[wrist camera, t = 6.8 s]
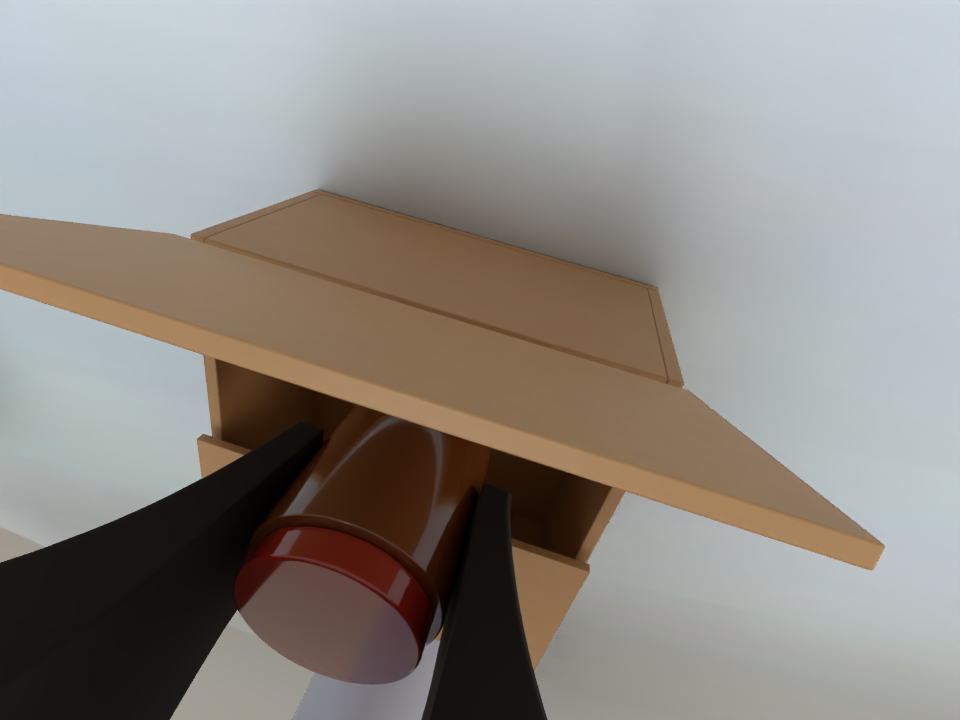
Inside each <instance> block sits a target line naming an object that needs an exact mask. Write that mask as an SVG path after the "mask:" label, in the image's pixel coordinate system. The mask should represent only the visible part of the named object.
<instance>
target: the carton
mask: <svg viewBox="0 0 960 720" xmlns="http://www.w3.org/2000/svg"><path fill="white" fill-rule="evenodd" d="M191 239H192V240H195V241H198V242H202V243H205V244H208V245H211V246H215V247H218V248H221V249H225V250H228V251H231V252H234V253H238V254H241V255H244V256H248V257H251V258H254V259H257V260H261V261H264V262H267V263H271V264H274V265H277V266H280V267H284V268H287V269H290V270H294V271H297V272H300V273H303V274H307V275H310V276H313V277H317V278H320V279H323V280H327V281H330V282H333V283H336V284H340V285H343V286H346V287H350V288H353V289H356V290H359V291H363V292H366V293H369V294H373V295H376V296H379V297H382V298H386V299H389V300H392V301H396V302H399V303H402V304H405V305H409V306H412V307H415V308H419V309H422V310H425V311H428V312H432V313H435V314H438V315H442V316H445V317H448V318H452V319H455V320H458V321H461V322H465V323H468V324H471V325H475V326H478V327H481V328H484V329H488V330H491V331H494V332H498V333H501V334H504V335H507V336H511V337H514V338H517V339H521V340H524V341H527V342H530V343H534V344H537V345H540V346H544V347H547V348H550V349H553V350H557V351H560V352H563V353H567V354H570V355H573V356H577V357H580V358H583V359H586V360H590V361H593V362H596V363H600V364H603V365H606V366H609V367H613V368H616V369H619V370H623V371H626V372H629V373H632V374H636V375H639V376H642V377H646V378H649V379H652V380H655V381H659V382H662V383H665V384H669V385H672V386H675V387H679V388H682V387H683V385H684V382H683V378H682V374H681V371H680V367H679V364H678V360H677V356H676V353H675V349H674V346H673V342H672V338H671V335H670V331H669V328H668V324H667V321H666V317H665V313H664V310H663V306H662V303H661V299H660V295H659V292H658V288H657V287H653V286H650V285H646V284H643V283H640V282H636V281H633V280H629V279H626V278H622V277H619V276H615V275H612V274H608V273H605V272H601V271H598V270H595V269H591V268H588V267H584V266H581V265H577V264H574V263H570V262H567V261H563V260H560V259H556V258H553V257H550V256H546V255H543V254H539V253H536V252H532V251H529V250H525V249H522V248H518V247H515V246H511V245H508V244H505V243H501V242H498V241H494V240H491V239H487V238H484V237H480V236H477V235H473V234H470V233H466V232H463V231H460V230H456V229H453V228H449V227H446V226H442V225H439V224H435V223H432V222H428V221H425V220H421V219H418V218H415V217H411V216H408V215H404V214H401V213H397V212H394V211H390V210H387V209H383V208H380V207H376V206H373V205H370V204H366V203H363V202H359V201H356V200H352V199H349V198H345V197H342V196H338V195H335V194H331V193H328V192H324V191H321V190H318V189H317V190H314V191H312V192H309V193H306V194H303V195H300V196H297V197H294V198H292V199H289V200H286V201H283V202H280V203H277V204H275V205H272V206H269V207H266V208H263V209H261V210H258V211H255V212H252V213H249V214H246V215H244V216H241V217H238V218H235V219H232V220H229V221H227V222H224V223H221V224H218V225H215V226H212V227H210V228H207V229H204V230H201V231H198V232H196V233H193V234H191ZM204 364H205V373H206V382H207V392H208V401H209V410H210V419H211V429H212V437H211V436H208V435H205V434H203V435H201V436H200V437H199V438H198V439H197V444H198V452H199V459H200V467H201V474H202V478H204V477H206V476H208V475H210V474H212V473H213V472H215V471H217V470H219V469H221V468H222V467H224V466H226V465H228V464H229V463H231V462H233V461H235V460H236V459H238V458H240V457H242V456H243V455H245V454H247V453H249V452H250V451H252V450H254V449H255V448H257V447H259V446H260V445H262V444H264V443H265V442H267V441H269V440H270V439H272V438H274V437H275V436H277V435H279V434H280V433H282V432H284V431H285V430H287V429H289V428H290V427H292V426H294V425H295V424H297V423H299V422H302V423H305V424H308V425H311V426H314V427H317V428H320V429H323V430H324V433H323V443H324V442H325V440H326V439H327V438H328V436H329V435H330V434H331V433H332V431H333V430H334V429H335V427H336V426H337V425H338V424H339V422H340V421H341V420H342V419H343V417H344V416H345V415H346V413H347V412H348V411H349V410H350V408H351V407H352V406H353V405H354V403H351V402H348V401H345V400H342V399H339V398H336V397H333V396H330V395H327V394H324V393H320V392H317V391H314V390H311V389H308V388H305V387H302V386H299V385H296V384H293V383H290V382H286V381H283V380H280V379H277V378H274V377H271V376H268V375H265V374H262V373H259V372H256V371H252V370H249V369H246V368H243V367H240V366H237V365H234V364H231V363H228V362H225V361H222V360H218V359H215V358H212V357H209V356H206V355H204ZM489 448H490V447H489ZM490 455H491V461H490V468H489V473H488V476H487V479H486V484H489V485H492V486H495V487H498V488H501V489H504V490H507V491H509V493H510V494H511V511H510V521H511V542H512V554H513V563H514V570H515V578H516V586H517V592H518V599H519V605H520V610H521V615H522V621H523V626H524V631H525V636H526V640H527V645H528V649H529V654H530V658H531V662H532V666H533V670H535V668H536V666H537V665H538V663H539V661H540V659H541V658H542V656H543V654H544V652H545V650H546V649H547V647H548V645H549V643H550V642H551V640H552V638H553V636H554V634H555V633H556V631H557V629H558V627H559V626H560V624H561V622H562V620H563V618H564V617H565V615H566V613H567V611H568V610H569V608H570V606H571V604H572V603H573V601H574V599H575V597H576V595H577V594H578V592H579V590H580V588H581V587H582V585H583V583H584V581H585V579H586V578H587V576H588V574H589V572H590V565H589V564H587V563H586V562H587V560H588V559H589V557H590V555H591V553H592V551H593V549H594V548H595V546H596V544H597V542H598V540H599V539H600V537H601V535H602V533H603V531H604V529H605V528H606V526H607V524H608V522H609V520H610V518H611V517H612V515H613V513H614V511H615V509H616V507H617V506H618V504H619V502H620V500H621V498H622V497H623V495H624V493H625V491H623V490H620V489H617V488H614V487H611V486H608V485H605V484H602V483H599V482H596V481H592V480H589V479H586V478H583V477H580V476H577V475H574V474H571V473H568V472H565V471H562V470H558V469H555V468H552V467H549V466H546V465H543V464H540V463H537V462H534V461H531V460H528V459H524V458H521V457H518V456H515V455H512V454H509V453H506V452H503V451H500V450H497V449H494V448H490ZM442 629H443V627H442ZM442 629H441V632H440V633H439V634H438V636H437V637H436V638H435V640H438V641H440V638H441V634H442Z"/></svg>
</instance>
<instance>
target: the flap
mask: <svg viewBox="0 0 960 720" xmlns="http://www.w3.org/2000/svg"><path fill="white" fill-rule="evenodd" d="M0 289H2V290H5V291H8V292H11V293H14V294H18V295H21V296H24V297H27V298H30V299H33V300H36V301H39V302H42V303H45V304H48V305H52V306H55V307H58V308H61V309H64V310H67V311H70V312H73V313H76V314H79V315H82V316H86V317H89V318H92V319H95V320H98V321H101V322H104V323H107V324H110V325H113V326H116V327H120V328H123V329H126V330H129V331H132V332H135V333H138V334H141V335H144V336H147V337H150V338H154V339H157V340H160V341H163V342H166V343H169V344H172V345H175V346H178V347H181V348H184V349H188V350H191V351H194V352H197V353H200V354H203V355H206V356H209V357H212V358H215V359H218V360H222V361H225V362H228V363H231V364H234V365H237V366H240V367H243V368H246V369H249V370H252V371H256V372H259V373H262V374H265V375H268V376H271V377H274V378H277V379H280V380H283V381H286V382H290V383H293V384H296V385H299V386H302V387H305V388H308V389H311V390H314V391H317V392H320V393H324V394H327V395H330V396H333V397H336V398H339V399H342V400H345V401H348V402H351V403H354V404H358V405H361V406H364V407H367V408H370V409H373V410H376V411H379V412H382V413H385V414H388V415H392V416H395V417H398V418H401V419H404V420H407V421H410V422H413V423H416V424H419V425H422V426H426V427H429V428H432V429H435V430H438V431H441V432H444V433H447V434H450V435H453V436H456V437H460V438H463V439H466V440H469V441H472V442H475V443H478V444H481V445H484V446H487V447H490V448H494V449H497V450H500V451H503V452H506V453H509V454H512V455H515V456H518V457H521V458H524V459H528V460H531V461H534V462H537V463H540V464H543V465H546V466H549V467H552V468H555V469H558V470H562V471H565V472H568V473H571V474H574V475H577V476H580V477H583V478H586V479H589V480H592V481H596V482H599V483H602V484H605V485H608V486H611V487H614V488H617V489H620V490H623V491H626V492H630V493H633V494H636V495H639V496H642V497H645V498H648V499H651V500H654V501H657V502H660V503H664V504H667V505H670V506H673V507H676V508H679V509H682V510H685V511H688V512H691V513H694V514H698V515H701V516H704V517H707V518H710V519H713V520H716V521H719V522H722V523H725V524H728V525H732V526H735V527H738V528H741V529H744V530H747V531H750V532H753V533H756V534H759V535H762V536H766V537H769V538H772V539H775V540H778V541H781V542H784V543H787V544H790V545H793V546H796V547H800V548H803V549H806V550H809V551H812V552H815V553H818V554H821V555H824V556H827V557H830V558H834V559H837V560H840V561H843V562H846V563H849V564H852V565H855V566H858V567H861V568H864V569H868V570H873V569H874V567H875V566H876V564H877V562H878V560H879V558H880V556H881V554H882V552H883V550H884V544H882V543H881V542H880V541H879V540H877V539H876V538H875V537H874V536H872V535H871V534H870V533H869V532H867V531H866V530H865V529H863V528H862V527H861V526H860V525H858V524H857V523H856V522H855V521H853V520H852V519H851V518H850V517H848V516H847V515H846V514H844V513H843V512H842V511H841V510H839V509H838V508H837V507H836V506H834V505H833V504H832V503H831V502H829V501H828V500H827V499H825V498H824V497H823V496H822V495H820V494H819V493H818V492H817V491H815V490H814V489H813V488H812V487H810V486H809V485H808V484H806V483H805V482H804V481H803V480H801V479H800V478H799V477H798V476H796V475H795V474H794V473H793V472H791V471H790V470H789V469H787V468H786V467H785V466H784V465H782V464H781V463H780V462H779V461H777V460H776V459H775V458H774V457H772V456H771V455H770V454H768V453H767V452H766V451H765V450H763V449H762V448H761V447H760V446H758V445H757V444H756V443H755V442H753V441H752V440H751V439H749V438H748V437H747V436H746V435H744V434H743V433H742V432H741V431H739V430H738V429H737V428H736V427H734V426H733V425H732V424H730V423H729V422H728V421H727V420H725V419H724V418H723V417H722V416H720V415H719V414H718V413H717V412H715V411H714V410H713V409H711V408H710V407H709V406H708V405H706V404H705V403H704V402H703V401H701V400H700V399H699V398H698V397H696V396H695V395H694V394H692V393H691V392H690V391H688V390H685V389H682V388H679V387H675V386H672V385H669V384H665V383H662V382H659V381H655V380H652V379H649V378H646V377H642V376H639V375H636V374H632V373H629V372H626V371H623V370H619V369H616V368H613V367H609V366H606V365H603V364H600V363H596V362H593V361H590V360H586V359H583V358H580V357H577V356H573V355H570V354H567V353H563V352H560V351H557V350H553V349H550V348H547V347H544V346H540V345H537V344H534V343H530V342H527V341H524V340H521V339H517V338H514V337H511V336H507V335H504V334H501V333H498V332H494V331H491V330H488V329H484V328H481V327H478V326H475V325H471V324H468V323H465V322H461V321H458V320H455V319H452V318H448V317H445V316H442V315H438V314H435V313H432V312H428V311H425V310H422V309H419V308H415V307H412V306H409V305H405V304H402V303H399V302H396V301H392V300H389V299H386V298H382V297H379V296H376V295H373V294H369V293H366V292H363V291H359V290H356V289H353V288H350V287H346V286H343V285H340V284H336V283H333V282H330V281H327V280H323V279H320V278H317V277H313V276H310V275H307V274H303V273H300V272H297V271H294V270H290V269H287V268H284V267H280V266H277V265H274V264H271V263H267V262H264V261H261V260H257V259H254V258H251V257H248V256H244V255H241V254H238V253H234V252H231V251H228V250H225V249H221V248H218V247H215V246H211V245H208V244H205V243H202V242H198V241H195V240H192V239H188V238H185V237H182V236H178V235H175V234H169V233H160V232H152V231H143V230H134V229H125V228H116V227H108V226H99V225H90V224H81V223H73V222H64V221H55V220H46V219H38V218H29V217H20V216H11V215H3V214H0Z"/></svg>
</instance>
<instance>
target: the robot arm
mask: <svg viewBox="0 0 960 720" xmlns="http://www.w3.org/2000/svg"><path fill="white" fill-rule="evenodd" d="M323 433H324V430H323V429H320V428H317V427H314V426H311V425H308V424H305V423H302V422H299V423H297V424H295V425H294V426H292V427H290V428H289V429H287V430H285V431H284V432H282V433H280V434H279V435H277V436H275V437H274V438H272V439H270V440H269V441H267V442H265V443H264V444H262V445H260V446H259V447H257V448H255V449H254V450H252V451H250V452H249V453H247V454H245V455H243V456H242V457H240V458H238V459H236V460H235V461H233V462H231V463H229V464H228V465H226V466H224V467H222V468H221V469H219V470H217V471H215V472H213V473H212V474H210V475H208V476H206V477H204V478H202V479H200V480H198V481H196V482H195V483H193V484H191V485H189V486H187V487H185V488H183V489H181V490H179V491H177V492H175V493H173V494H171V495H169V496H167V497H165V498H163V499H161V500H159V501H157V502H155V503H153V504H151V505H148V506H146V507H144V508H142V509H140V510H138V511H135V512H133V513H131V514H128V515H126V516H124V517H122V518H119V519H117V520H115V521H112V522H110V523H108V524H105V525H103V526H100V527H98V528H95V529H93V530H90V531H88V532H85V533H82V534H80V535H77V536H75V537H72V538H69V539H67V540H64V541H61V542H59V543H56V544H53V545H51V546H48V547H45V548H43V549H40V550H37V551H34V552H31V553H29V554H25V555H23V556H20V557H16V558H13V559H10V560H7V561H4V562H1V563H0V720H170V718H171V716H172V715H173V713H174V711H175V710H176V708H177V706H178V705H179V703H180V701H181V700H182V698H183V696H184V695H185V693H186V691H187V689H188V688H189V686H190V684H191V683H192V681H193V679H194V678H195V676H196V674H197V672H198V671H199V669H200V668H201V666H202V664H203V663H204V661H205V659H206V658H207V656H208V654H209V653H210V651H211V649H212V648H213V646H214V645H215V643H216V641H217V639H218V638H219V637H220V635H221V633H222V632H223V630H224V628H225V627H226V626H227V624H228V623H229V621H230V620H231V618H232V617H233V615H234V614H235V612H236V611H237V606H236V604H235V601H234V597H233V583H234V579H235V576H236V574H237V572H238V570H239V569H240V567H241V566H242V565H243V563H244V562H245V561H246V559H247V547H248V543H249V539H250V537H251V535H252V534H253V532H254V531H255V529H256V528H257V527H258V526H259V524H260V523H261V522H262V520H263V519H264V518H265V517H266V515H267V514H268V513H269V512H270V510H271V509H272V508H273V506H274V505H275V504H276V503H277V501H278V500H279V499H280V498H281V496H282V495H283V494H284V492H285V491H286V490H287V489H288V487H289V486H290V485H291V484H292V482H293V481H294V480H295V478H296V477H297V476H298V475H299V473H300V472H301V471H302V470H303V468H304V467H305V466H306V464H307V463H308V462H309V461H310V459H311V458H312V457H313V456H314V454H315V453H316V452H317V450H318V449H319V448H320V447H321V445H322V444H323ZM510 511H511V494H510V493H509V491H507V490H504V489H501V488H498V487H495V486H492V485H489V484H486V483H483V485H482V488H481V491H480V495H479V498H478V501H477V504H476V508H475V511H474V514H473V518H472V521H471V524H470V528H469V531H468V536H467V540H466V545H465V549H464V554H463V558H462V562H461V566H460V570H459V574H458V578H457V581H456V584H455V588H454V591H453V594H452V598H451V601H450V605H449V608H448V611H447V615H446V618H445V622H444V625H443V629H442V634H441V638H440V641H438V640H435V639H434V640H433V641H432V642H431V643H430V644H429V645H427V646H425V649H424V653H423V656H422V659H421V661H420V663H419V665H418V666H417V668H416V669H415V670H414V671H413V672H412V673H411V674H410V675H409V676H407V677H406V678H404V679H402V680H400V681H397V682H393V683H389V684H382V685H363V684H355V683H349V682H344V681H340V680H336V679H332V678H329V677H326V676H323V675H320V674H318V673H314V676H313V677H312V679H311V682H310V684H309V686H308V688H307V690H306V692H305V694H304V696H303V698H302V700H301V702H300V704H299V706H298V708H297V710H296V712H295V714H294V716H293V718H292V720H547V717H546V714H545V710H544V707H543V703H542V700H541V696H540V692H539V689H538V685H537V681H536V678H535V674H534V670H533V666H532V662H531V658H530V654H529V649H528V645H527V640H526V636H525V631H524V626H523V621H522V615H521V610H520V605H519V599H518V592H517V586H516V578H515V570H514V563H513V554H512V542H511V521H510Z"/></svg>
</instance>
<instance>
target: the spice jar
mask: <svg viewBox="0 0 960 720" xmlns="http://www.w3.org/2000/svg"><path fill="white" fill-rule="evenodd" d="M490 461H491V455H490V448H489V447H487V446H484V445H481V444H478V443H475V442H472V441H469V440H466V439H463V438H460V437H456V436H453V435H450V434H447V433H444V432H441V431H438V430H435V429H432V428H429V427H426V426H422V425H419V424H416V423H413V422H410V421H407V420H404V419H401V418H398V417H395V416H392V415H388V414H385V413H382V412H379V411H376V410H373V409H370V408H367V407H364V406H361V405H358V404H354V405H353V406H352V407H351V408H350V410H349V411H348V412H347V413H346V415H345V416H344V417H343V419H342V420H341V421H340V422H339V424H338V425H337V426H336V427H335V429H334V430H333V431H332V433H331V434H330V435H329V436H328V438H327V439H326V440H325V442H324V443H323V444H322V445H321V447H320V448H319V449H318V450H317V452H316V453H315V454H314V456H313V457H312V458H311V459H310V461H309V462H308V463H307V464H306V466H305V467H304V468H303V470H302V471H301V472H300V473H299V475H298V476H297V477H296V478H295V480H294V481H293V482H292V484H291V485H290V486H289V487H288V489H287V490H286V491H285V492H284V494H283V495H282V496H281V498H280V499H279V500H278V501H277V503H276V504H275V505H274V506H273V508H272V509H271V510H270V512H269V513H268V514H267V515H266V517H265V518H264V519H263V520H262V522H261V523H260V524H259V526H258V527H257V528H256V529H255V531H254V532H253V534H252V535H251V537H250V539H249V543H248V547H247V559H246V561H245V562H244V563H243V565H242V566H241V567H240V569H239V570H238V572H237V574H236V576H235V579H234V583H233V597H234V601H235V604H236V606H237V609H238V611H239V613H240V614H241V616H242V618H243V619H244V620H245V622H246V623H247V625H248V626H249V627H250V628H251V629H252V630H253V632H254V633H255V634H257V635H258V636H259V637H260V638H261V639H262V640H263V641H264V642H265V643H266V644H268V645H269V646H270V647H271V648H273V649H274V650H275V651H277V652H278V653H280V654H281V655H283V656H284V657H286V658H287V659H289V660H291V661H293V662H294V663H296V664H298V665H300V666H302V667H304V668H306V669H308V670H311V671H313V672H315V673H318V674H320V675H323V676H326V677H329V678H332V679H336V680H340V681H344V682H349V683H355V684H363V685H382V684H389V683H393V682H397V681H400V680H402V679H404V678H406V677H407V676H409V675H410V674H411V673H412V672H413V671H414V670H415V669H416V668H417V666H418V665H419V663H420V661H421V659H422V656H423V653H424V649H425V646H427V645H429V644H430V643H431V642H432V641H433V640H434V639H435V638H436V637H437V636H438V634H439V633H440V632H441V629H442V627H443V625H444V622H445V618H446V615H447V611H448V608H449V605H450V601H451V598H452V594H453V591H454V588H455V584H456V581H457V578H458V574H459V570H460V566H461V562H462V558H463V554H464V549H465V545H466V540H467V536H468V531H469V528H470V524H471V521H472V518H473V514H474V511H475V508H476V504H477V501H478V498H479V495H480V491H481V488H482V485H483V483H486V479H487V476H488V473H489V468H490Z"/></svg>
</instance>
